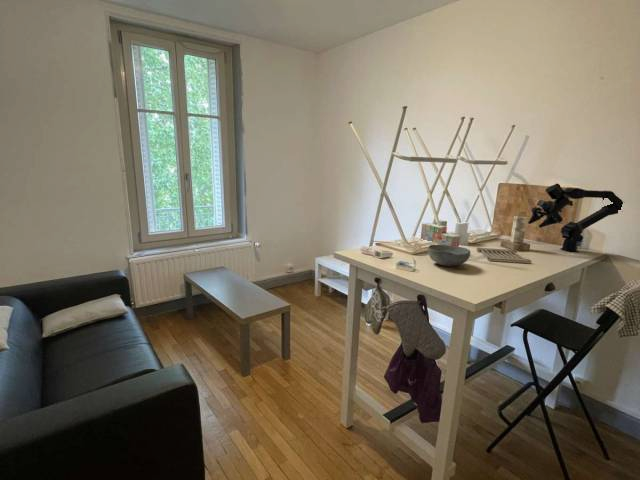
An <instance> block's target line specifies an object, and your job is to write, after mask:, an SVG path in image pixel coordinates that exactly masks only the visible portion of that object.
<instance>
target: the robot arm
mask: <svg viewBox="0 0 640 480" xmlns="http://www.w3.org/2000/svg"><path fill="white" fill-rule="evenodd" d="M545 193H546V194H547V195H548V196H549V198H550V199H551V200H545V199H539V200H538V202H537V203H536V207H535V206H534V207H532V209H531V212H532V215H531V216H530V219H529V221H527V223H528V225H530V224H533V223H535V222H537V221H539V220H542V218H544V217H546V218H545V219H544V220H542V222H541V223H540V224H539V225H538V228H544V227H547V226H551V225H554V224H555V225H556V224H561V222H563V220H564V218H563V217H562V216H561V213H562V212H563V209H564V208H565V207H567V206H570V207H572V206H573V205H574V204H573V202H574V201H573V200H578V199H579V200H580V199H583V198H584V199H585V198H597V199H598V198H599V199H601V200H602V199H603V200H604V198H608V199H609V200H610V201H611V202H613V204H610V205H607V206H604V207H601V208H600V209H599V210H597V211H595V212H593V213H591V214H590V215H588V216H586V217H584V218H582V219H581V220H579V221H577V222H574V221H569V222H567V223H566V224H563V226H562V227H561V230H560V233H561V238H562V239H564V241H563V243H562V247H560V248H559V249H560V250H563V251H565V252H570V253H571V252H572V253H573V252H574V253H575V252H576V253H579V252H580V250H578V247H579V242H583V239H584V237H583V235H581V234H583V231H584V230H586V229H587V228H589V227H591V226H592V225H594V224H595V223H598V222H600V221H601V220H603V219H605V218H607V217H608V216H611V215H612V216H613V215H618V214H619V213H618V210H621V207H622V204H623V202H624V201H623V200H622V199H621V198H620V197H619V196H617V195H616V194H615V193H614V191H612V190H591V189H590V190H589V189H587V190H586V189H582V188H578V187H567V188H565V189H563V188H562V187H561V185H560V184H559V183H555V184H553V185H551V186H548V187H547V188H546V189H545ZM603 200H602V201H603ZM537 206H539V207H537Z"/></svg>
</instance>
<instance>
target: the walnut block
mask: <svg viewBox="0 0 640 480" xmlns="http://www.w3.org/2000/svg"><path fill="white" fill-rule="evenodd" d="M500 247H501V248H503V249H506V250H509V251H512V250H516V251H515V252H527V251H530V247H531V244H530V243H527V242H524V241H523V243H513V242H511V241H510V239H505V240H504V239H502V240H501V241H500Z"/></svg>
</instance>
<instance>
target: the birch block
mask: <svg viewBox="0 0 640 480" xmlns="http://www.w3.org/2000/svg"><path fill="white" fill-rule="evenodd" d="M527 223H528V217H525V216H517V215H516V216H515V215H514V216H513V222H512V226H511V233H510V239H509V240H510V241H511V242H513V243H523V242H524V239H525V233H526V229H527Z"/></svg>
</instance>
